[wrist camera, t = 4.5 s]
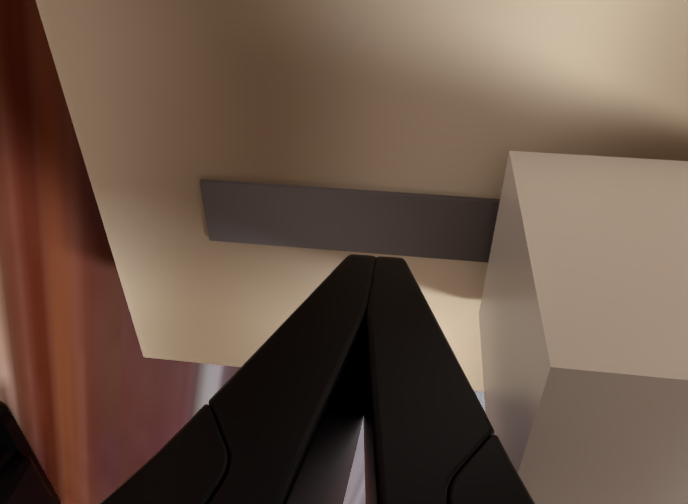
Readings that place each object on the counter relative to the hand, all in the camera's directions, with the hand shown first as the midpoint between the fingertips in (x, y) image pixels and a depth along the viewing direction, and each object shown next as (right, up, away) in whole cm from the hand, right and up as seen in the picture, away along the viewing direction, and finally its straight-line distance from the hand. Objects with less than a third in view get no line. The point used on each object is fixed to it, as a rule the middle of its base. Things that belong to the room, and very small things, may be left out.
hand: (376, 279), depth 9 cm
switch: (+4, 0, +1) cm, 4 cm away
